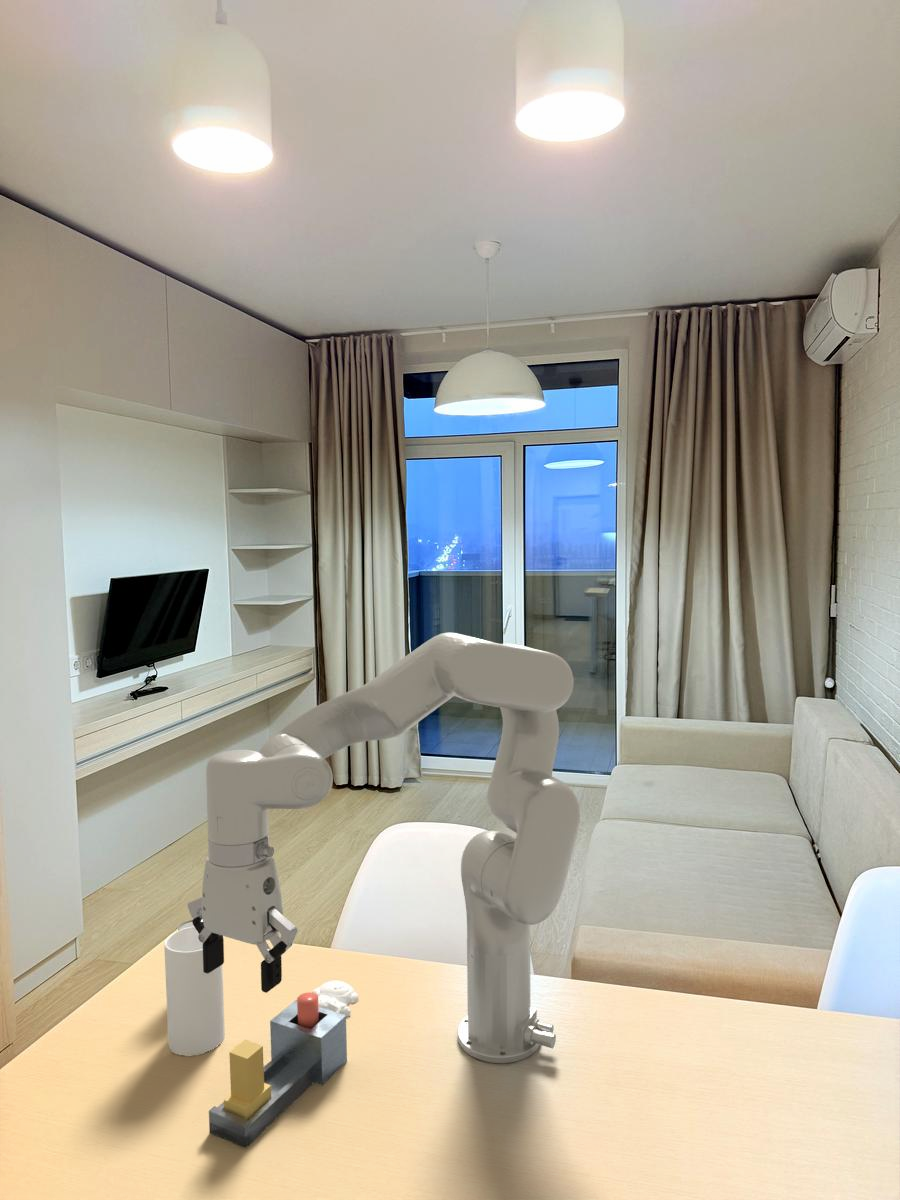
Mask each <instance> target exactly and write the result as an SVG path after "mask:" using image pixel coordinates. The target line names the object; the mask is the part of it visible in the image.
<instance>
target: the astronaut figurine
mask: <svg viewBox="0 0 900 1200" xmlns="http://www.w3.org/2000/svg"><path fill="white" fill-rule="evenodd" d="M311 993H315V994H317V995H318V1006H319V1007H321V1008H324V1009H327V1010H330V1011H333V1012H337V1013H340V1014H343V1015H346V1018H347V1017H350V1016H351V1013H352V1010H351V1008H350V1007H349V1004H354V1003H356V1002H358V1000H359V995H358V993H357V992H355V990H354V988H353V986H352V985H350V984H348V983H346V981H345V982H344V981H341V980H330V981H326V982H324V983H323V984H322V985H320V986H319V987H316V988H314V989H313V990H312V992H311Z"/></svg>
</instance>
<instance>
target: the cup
mask: <svg viewBox="0 0 900 1200" xmlns="http://www.w3.org/2000/svg"><path fill="white" fill-rule="evenodd" d="M198 935H199V933H198V931H197V930H196V928H195V927H194V926H193V927H188V928H184V929H181V930H178V929H177V930H176V931H174V932H173V933H171V934H170V935H168V936H167V938H165V940H164V945H163V946H164V947H163V948H164V964H165V965H164V969H165V971H164V972H165V989H166V991H165V992H166V993H165V994H166V1016H167V1019H166V1020H167V1039H168V1040H167V1042H168V1048H169V1050H170V1051H171V1052H172V1053H173V1054H175V1055H177V1054H179V1055H178V1056H181V1055H186V1056H185V1057H193V1056H192V1055H196V1056H199V1055H198V1054H201V1055H203V1053H204V1054H206V1053H205V1052H207V1051H209V1052H211V1051H213V1050H214V1049H213V1048H215V1047H216V1046H217V1045H219V1044H220V1043H221V1042H222V1043H223V1041H224V1040H223V1039H225V1037H224V1036H226V1031H225V1030H226V1029H225V1004H224V1002H225V1001H224V1000H225V998H224V979H223V978H224V975H223V974H224V973H223V972H224V971H223V964H222V965H221V966H219V967H218V968H216V969H215V970H213V971H212V972H210V973H208V974H207V973H204V972H203V943H201V942H200V941H199V939H198ZM222 1043H221V1044H222ZM221 1044H220V1045H221ZM220 1045H219V1046H220ZM217 1047H218V1046H217ZM217 1047H216V1048H217ZM216 1048H215V1049H216ZM212 1049H213V1050H212ZM210 1050H211V1051H210ZM207 1053H208V1052H207ZM187 1055H188V1056H187ZM189 1055H191V1056H189Z"/></svg>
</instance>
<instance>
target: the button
mask: <svg viewBox="0 0 900 1200" xmlns="http://www.w3.org/2000/svg"><path fill="white" fill-rule="evenodd" d="M296 998H297V999H296V1000H297V1012H298V1025H300V1026H303V1027H306V1028H309V1029H312V1028H313V1027H314V1026H315V1025H316V1024H318V1023H319V1006H318V995H317V994H315V993H312V992H304V993H301V994H300V995H299V996H298V997H296Z"/></svg>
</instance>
